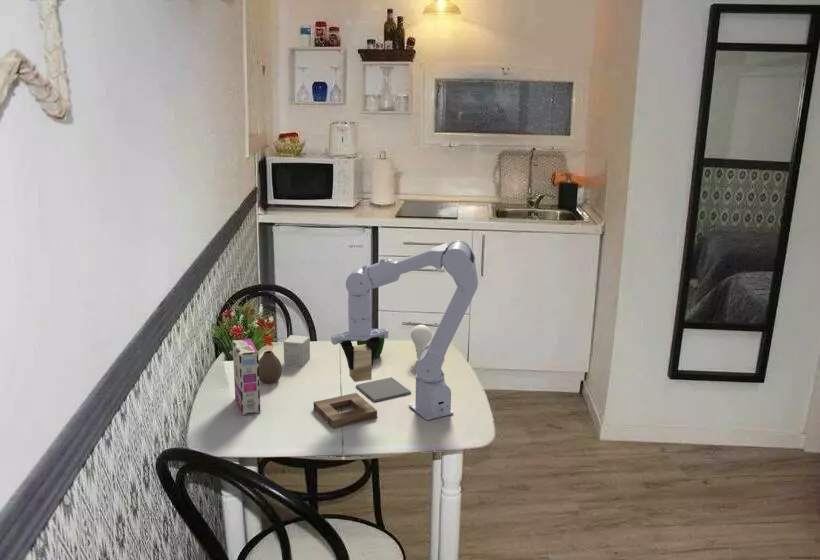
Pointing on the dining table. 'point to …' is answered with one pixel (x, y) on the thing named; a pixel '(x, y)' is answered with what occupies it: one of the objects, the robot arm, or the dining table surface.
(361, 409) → the holder
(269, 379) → the vase
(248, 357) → the candy bar box
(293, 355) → the product box
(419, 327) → the lightbulb
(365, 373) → the peg
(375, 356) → the bell pepper
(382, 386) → the mat
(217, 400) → the dining table surface
